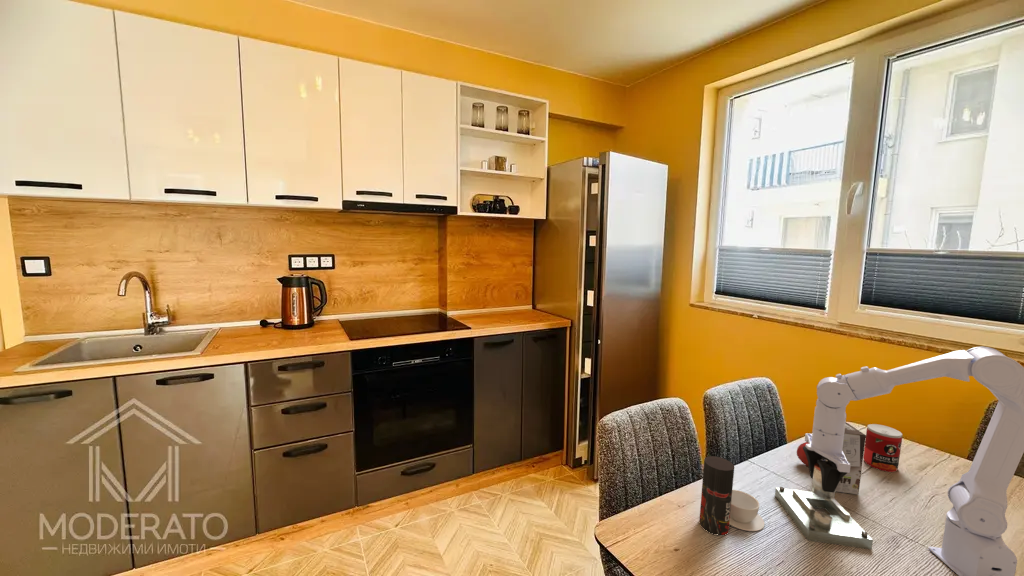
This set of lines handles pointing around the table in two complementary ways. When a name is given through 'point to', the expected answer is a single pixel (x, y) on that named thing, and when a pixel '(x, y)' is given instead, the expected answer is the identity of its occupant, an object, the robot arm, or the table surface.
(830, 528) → the mounting plate with knobs
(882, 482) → the table surface
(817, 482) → the spout can
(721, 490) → the deodorant
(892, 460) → the canned food
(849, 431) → the coffee box
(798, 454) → the onion
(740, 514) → the teacup
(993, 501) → the robot arm
